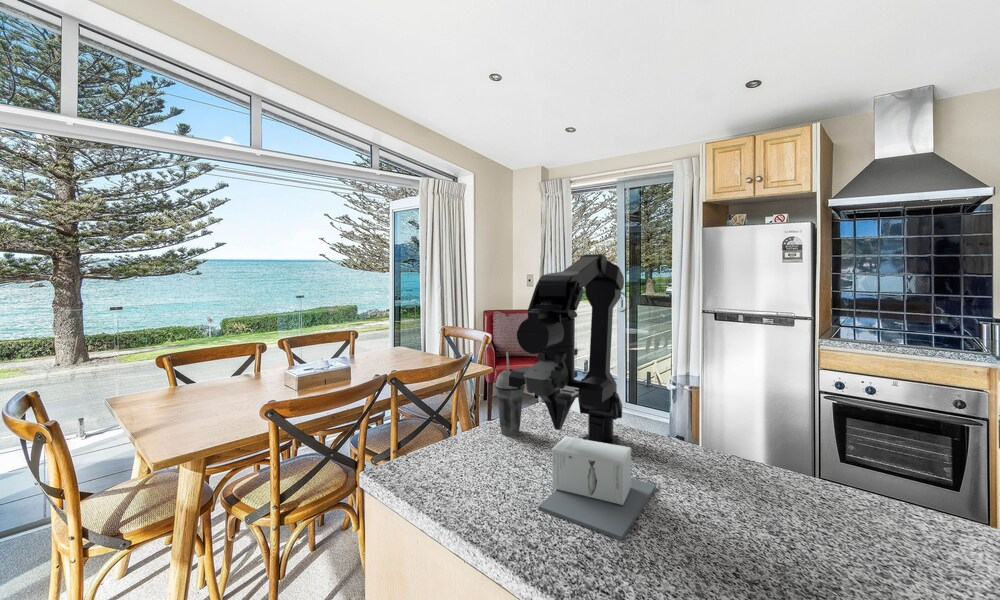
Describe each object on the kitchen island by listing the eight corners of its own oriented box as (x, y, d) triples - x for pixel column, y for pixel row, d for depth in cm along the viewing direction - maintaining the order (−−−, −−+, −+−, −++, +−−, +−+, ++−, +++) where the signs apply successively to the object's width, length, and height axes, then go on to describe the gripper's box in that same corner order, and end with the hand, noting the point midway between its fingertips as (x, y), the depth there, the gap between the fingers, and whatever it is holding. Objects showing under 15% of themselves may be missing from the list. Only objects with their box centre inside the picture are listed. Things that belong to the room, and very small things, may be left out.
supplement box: (550, 448, 74) (623, 461, 68) (564, 435, 80) (632, 446, 74) (550, 489, 74) (623, 506, 68) (565, 473, 80) (632, 487, 74)
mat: (583, 467, 83) (583, 464, 83) (655, 488, 75) (655, 484, 75) (538, 509, 69) (538, 506, 69) (621, 540, 61) (621, 536, 61)
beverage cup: (530, 430, 103) (530, 350, 102) (515, 440, 97) (515, 355, 96) (505, 424, 107) (504, 347, 106) (489, 434, 101) (488, 352, 100)
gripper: (490, 345, 74) (490, 431, 75) (588, 358, 63) (587, 458, 64) (524, 337, 83) (524, 414, 84) (615, 347, 72) (614, 435, 73)
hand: (558, 429), depth 76 cm, fingers closed
